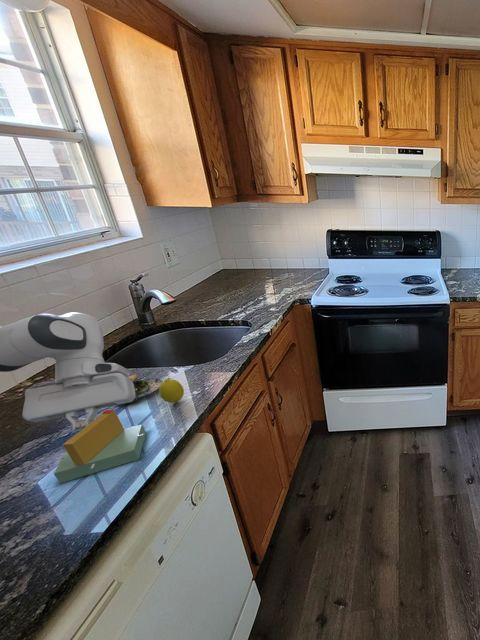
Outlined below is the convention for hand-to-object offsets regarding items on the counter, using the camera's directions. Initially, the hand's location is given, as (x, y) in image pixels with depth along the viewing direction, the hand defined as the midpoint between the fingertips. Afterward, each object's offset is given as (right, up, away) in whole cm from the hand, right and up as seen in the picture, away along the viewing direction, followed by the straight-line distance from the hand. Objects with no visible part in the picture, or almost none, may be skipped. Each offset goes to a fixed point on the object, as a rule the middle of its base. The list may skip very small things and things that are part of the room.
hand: (82, 429), depth 87 cm
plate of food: (-7, +5, +25) cm, 27 cm away
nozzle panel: (+5, -7, 0) cm, 9 cm away
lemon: (+7, +3, +20) cm, 22 cm away
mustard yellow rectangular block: (+5, -4, -1) cm, 7 cm away
